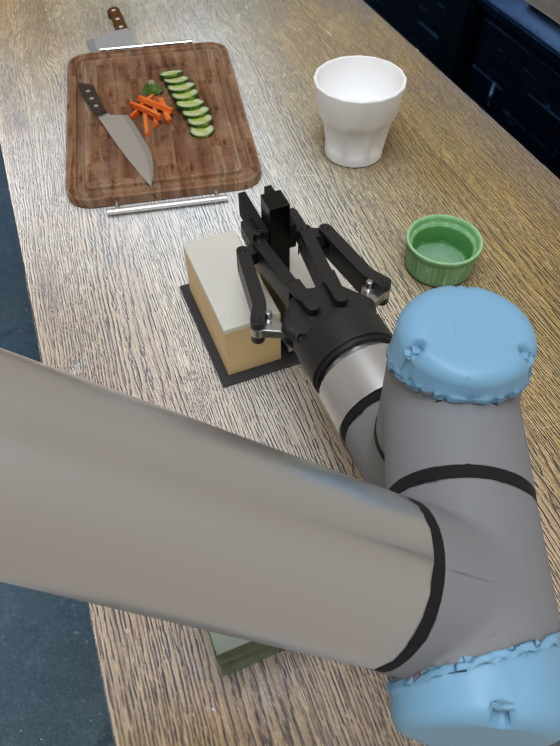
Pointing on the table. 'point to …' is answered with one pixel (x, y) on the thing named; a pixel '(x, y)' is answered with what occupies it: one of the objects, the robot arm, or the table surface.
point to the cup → (357, 106)
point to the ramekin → (442, 249)
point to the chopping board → (156, 127)
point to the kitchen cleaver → (113, 33)
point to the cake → (234, 308)
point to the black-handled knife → (277, 236)
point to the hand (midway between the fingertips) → (255, 200)
